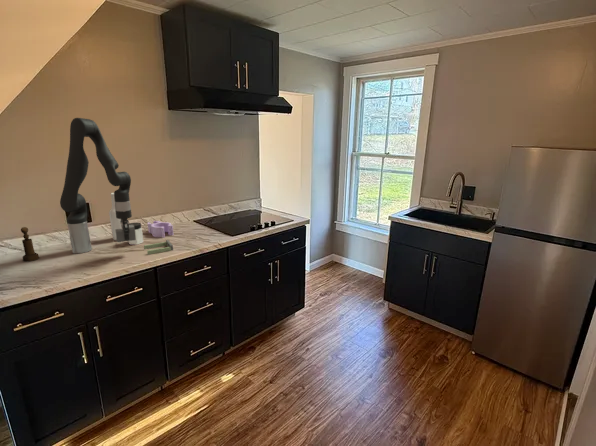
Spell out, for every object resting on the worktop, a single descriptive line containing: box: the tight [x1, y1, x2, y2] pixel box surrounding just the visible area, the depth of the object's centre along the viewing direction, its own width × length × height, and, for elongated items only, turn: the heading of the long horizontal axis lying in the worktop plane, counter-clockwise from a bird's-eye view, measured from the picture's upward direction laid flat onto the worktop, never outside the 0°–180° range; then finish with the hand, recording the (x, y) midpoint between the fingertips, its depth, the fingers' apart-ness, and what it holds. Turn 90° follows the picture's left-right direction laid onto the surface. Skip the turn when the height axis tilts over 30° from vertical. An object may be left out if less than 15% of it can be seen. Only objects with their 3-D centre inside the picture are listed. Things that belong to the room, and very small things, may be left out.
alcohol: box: [108, 192, 122, 242], centre depth 200 cm, size 9×9×30 cm
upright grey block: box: [115, 225, 136, 243], centre depth 174 cm, size 9×5×8 cm, turn 124°
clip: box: [147, 220, 174, 239], centre depth 215 cm, size 20×12×7 cm, turn 54°
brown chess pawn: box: [20, 226, 40, 262], centre depth 167 cm, size 7×6×18 cm
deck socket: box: [143, 239, 174, 255], centre depth 186 cm, size 14×11×3 cm
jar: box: [127, 222, 144, 246], centre depth 196 cm, size 9×8×12 cm
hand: (126, 238), depth 175 cm, fingers closed on upright grey block, 5 cm apart
